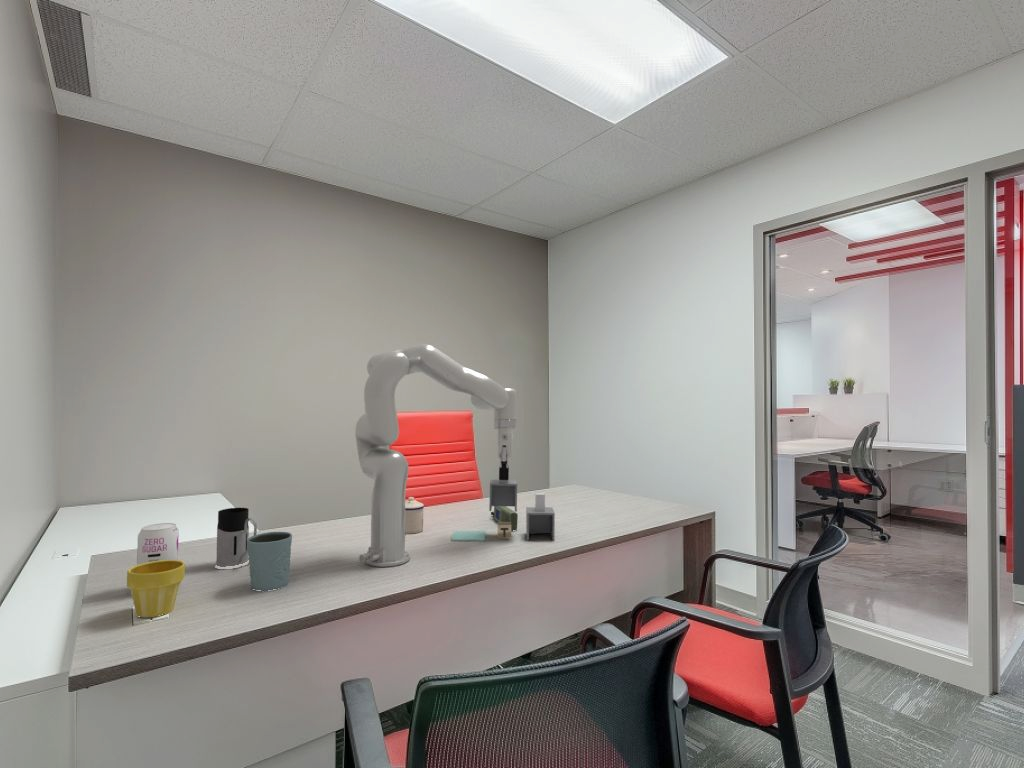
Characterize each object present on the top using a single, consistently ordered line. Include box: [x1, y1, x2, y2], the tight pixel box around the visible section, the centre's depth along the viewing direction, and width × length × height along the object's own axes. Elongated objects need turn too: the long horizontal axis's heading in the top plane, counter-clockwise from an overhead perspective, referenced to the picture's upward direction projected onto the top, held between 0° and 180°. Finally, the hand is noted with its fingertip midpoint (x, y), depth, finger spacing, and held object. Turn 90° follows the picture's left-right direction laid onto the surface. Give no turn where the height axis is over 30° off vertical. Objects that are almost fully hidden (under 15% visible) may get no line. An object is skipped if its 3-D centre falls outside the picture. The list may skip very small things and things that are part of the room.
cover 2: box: [525, 492, 556, 541], centre depth 174 cm, size 9×9×14 cm
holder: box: [215, 507, 258, 567], centre depth 142 cm, size 9×14×15 cm, turn 62°
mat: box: [450, 530, 487, 542], centre depth 174 cm, size 11×11×1 cm
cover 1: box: [488, 464, 518, 513], centre depth 174 cm, size 9×9×14 cm
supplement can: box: [136, 522, 180, 565], centre depth 125 cm, size 8×8×15 cm
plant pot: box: [126, 559, 186, 618], centre depth 112 cm, size 10×10×10 cm
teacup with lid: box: [405, 496, 425, 535], centre depth 182 cm, size 12×9×12 cm
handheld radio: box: [490, 506, 519, 532], centre depth 193 cm, size 7×3×25 cm
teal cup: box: [247, 531, 293, 592], centre depth 128 cm, size 10×10×12 cm
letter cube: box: [497, 522, 512, 539], centre depth 174 cm, size 5×4×4 cm
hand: (503, 478), depth 174 cm, fingers closed on cover 1, 3 cm apart
